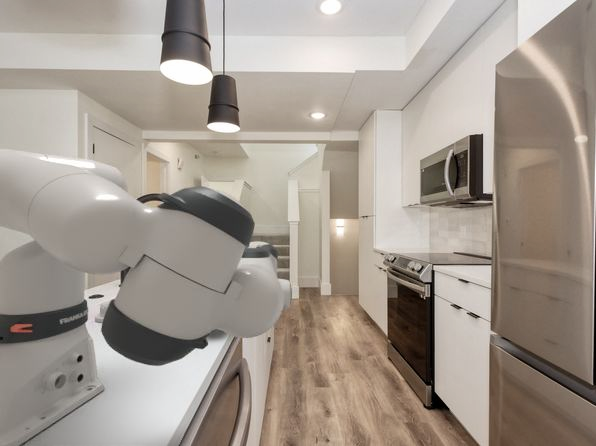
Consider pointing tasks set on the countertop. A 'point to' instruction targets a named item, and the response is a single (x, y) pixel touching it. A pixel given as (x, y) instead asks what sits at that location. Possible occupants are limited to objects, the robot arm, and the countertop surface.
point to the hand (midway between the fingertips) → (179, 295)
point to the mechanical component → (102, 312)
